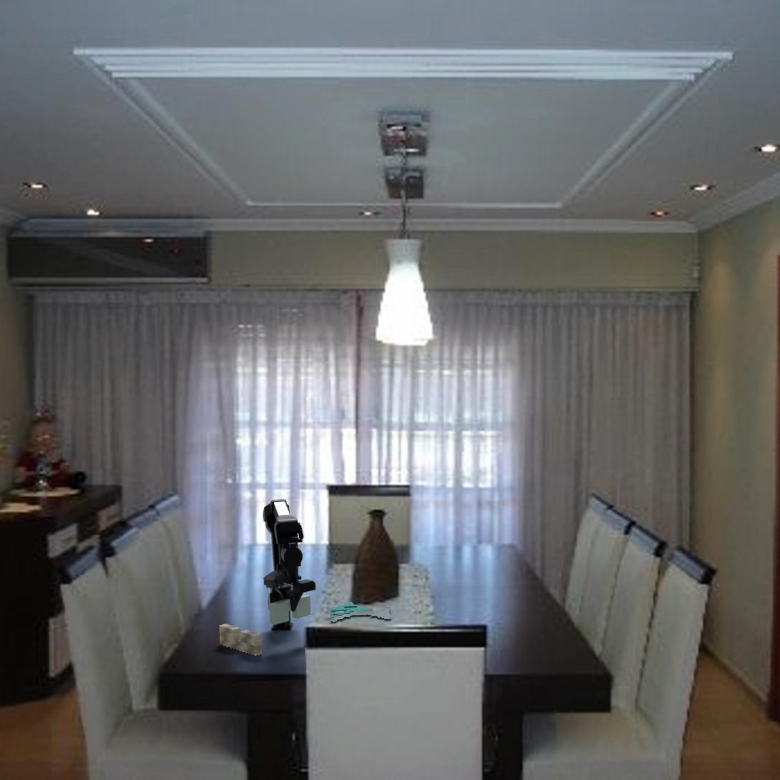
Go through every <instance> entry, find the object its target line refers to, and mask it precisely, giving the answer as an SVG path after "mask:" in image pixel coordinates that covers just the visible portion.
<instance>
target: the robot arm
mask: <svg viewBox="0 0 780 780" xmlns="http://www.w3.org/2000/svg"><path fill="white" fill-rule="evenodd" d="M290 510H291V509H290V505H289V504H288V502H287V499H284V498H280V499H272V500H270V502H269V503H268V504H267V505H266V506H264V507H263V510H262V520H263V523H265V529H266V530H267V531H268V533H269V534H270V538H271V551H272V552H271V553H272V554H271V555H272V566H273V567H272V568H273V570H272V571H271V572H270V573H268V574H266V575H265V576H263V585H264V586H265V587H266V588H267V589H270V590H269V592H268V597H267V609H268V611H269V612H270V607H269V604H270V603H274V602H278V601H282V600H286V599H290V605H291V611H289V621H287V622H283V623H279V624H272V626H271V628H270V629H272V631H279V630H280V631H281V630H283V631H284V630H286V631H287V630H292V628H293V626H294V622H292V617H291V616H292V612H294V611H295V610H296V608H297V605H298V603H299V600H300V598H301V596H302V595H304V593H308V592H312V591H316V590H317V585H316V582H315V581H314V580H311V579H306V578H305V579H303V578H302V575H299V567H302V561H303V559H304V558H303V557H304V555H303V551H302V550H301V549H300V548H299V544H300V543H301V544H302V543H303V540H304V538H305V536H304V532H303V527H302V524H301V522H300V521H298V518H297V517H296V516H294V515H291V511H290Z"/></svg>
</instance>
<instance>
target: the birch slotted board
mask: <svg viewBox="0 0 780 780" xmlns="http://www.w3.org/2000/svg"><path fill="white" fill-rule="evenodd" d="M218 630H219V645H220V646H222V645H223V646H222V647H225V646H226V647H225V648H228V647H230V648H229V649H232V648H233V649H232V650H235V649H236V651H238V650H239V651H238V652H241V651H242V652H241V653H244V652H245V653H244V654H247V653H248V654H247V655H250V654H251V655H250V656H253V655H254V657H258V656H261V655H263V648H262V647H263V645H262V643H263V642H262V633H258V632H256V631H252V630H248V629H245V630H241V628H240V627H238V626H234V625H231V624H229V623H224V624H221V625H220V624H219V629H218ZM260 654H261V655H260ZM257 655H258V656H257Z"/></svg>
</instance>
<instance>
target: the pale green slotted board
mask: <svg viewBox="0 0 780 780" xmlns="http://www.w3.org/2000/svg"><path fill="white" fill-rule="evenodd" d="M269 607H270V611H269V623H270V624H272V625H273V624H279V623H283V622H287V621H289V611H291V605H290V599H286V600H282V601H278V602H274V603H270V604H269ZM311 613H312V612H311V595H308V594H302V596H301V598H300V600H299V603H298V605H297V608H296V610H295V611H294V612H292V611H291V616H292V617H291V618H294V619H300V618H304V617H308V616H311V615H312V614H311Z"/></svg>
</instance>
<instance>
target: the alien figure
mask: <svg viewBox="0 0 780 780" xmlns="http://www.w3.org/2000/svg"><path fill="white" fill-rule="evenodd" d="M385 608H390V609H391V607H390V605H389V607H385ZM365 609H366V608H365V607H364V608H363V607H360V606H357V605H354V604H353V603H352V602H351V601H350V602H344V603H343V604H338V605H337V606H331V607H330V613H331V612H334V611H344V613H337V615H331V614H330V615H329V619H330V618H334V617H337V616H342V615H344V614H350V613H351V612H354V611H365ZM347 610H351V611H347ZM366 610H367V609H366ZM370 611H371V610H370ZM385 614H386V613H385ZM390 615H391V613H390Z"/></svg>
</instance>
